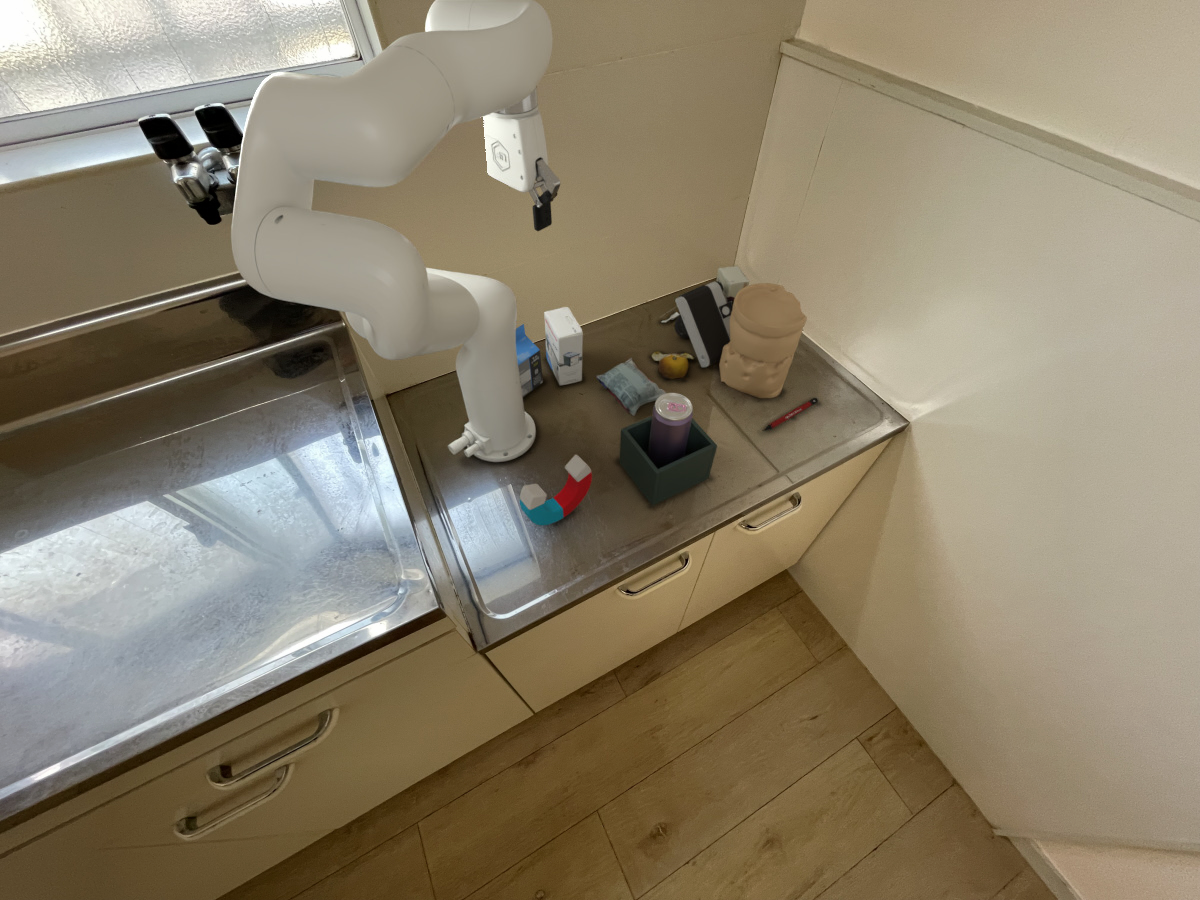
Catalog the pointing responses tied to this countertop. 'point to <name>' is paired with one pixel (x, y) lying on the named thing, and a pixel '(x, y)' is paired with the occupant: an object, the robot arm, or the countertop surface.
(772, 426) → the pencil
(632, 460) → the waste bin
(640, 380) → the packaged food
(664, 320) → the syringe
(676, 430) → the beverage can
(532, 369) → the blue cardboard box
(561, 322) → the ink box
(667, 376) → the fruit
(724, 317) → the camera
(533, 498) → the magnet
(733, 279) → the cosmetic box
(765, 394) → the container
